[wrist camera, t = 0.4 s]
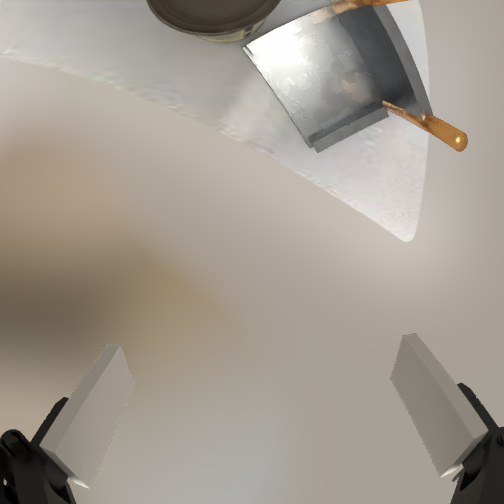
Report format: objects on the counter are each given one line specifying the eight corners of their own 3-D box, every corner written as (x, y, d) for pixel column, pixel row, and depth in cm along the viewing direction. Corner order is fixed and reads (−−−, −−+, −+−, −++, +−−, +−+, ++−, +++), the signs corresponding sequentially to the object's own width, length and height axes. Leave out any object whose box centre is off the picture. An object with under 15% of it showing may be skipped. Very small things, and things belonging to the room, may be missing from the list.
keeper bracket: (240, 46, 26) (242, 38, 14) (339, 0, 21) (406, -23, 9) (309, 148, 35) (349, 211, 23) (394, 105, 30) (468, 147, 18)
